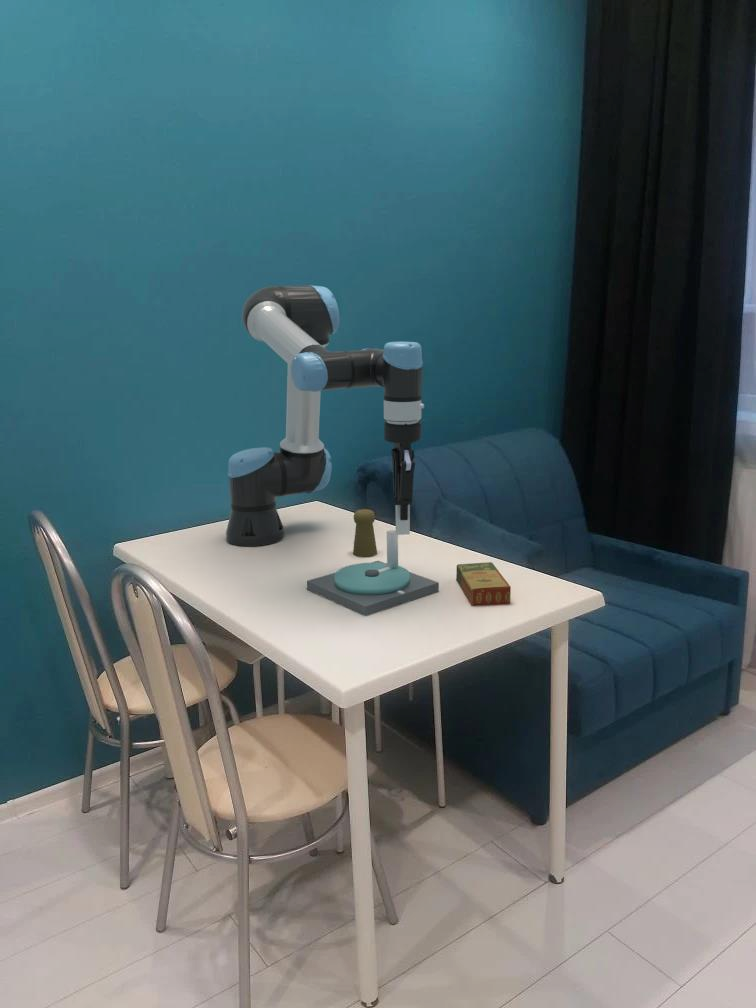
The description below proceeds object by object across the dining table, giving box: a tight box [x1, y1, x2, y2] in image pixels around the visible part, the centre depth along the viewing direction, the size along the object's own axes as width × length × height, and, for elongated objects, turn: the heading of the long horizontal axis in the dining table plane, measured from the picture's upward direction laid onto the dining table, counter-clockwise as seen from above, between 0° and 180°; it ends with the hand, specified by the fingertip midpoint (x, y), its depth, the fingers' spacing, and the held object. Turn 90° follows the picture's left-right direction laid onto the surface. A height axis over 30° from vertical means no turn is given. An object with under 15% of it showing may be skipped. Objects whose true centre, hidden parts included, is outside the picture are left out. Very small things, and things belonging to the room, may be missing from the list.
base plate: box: [306, 560, 440, 617], centre depth 166 cm, size 20×20×2 cm
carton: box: [455, 561, 512, 607], centre depth 165 cm, size 8×16×4 cm, turn 6°
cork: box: [352, 508, 378, 558], centre depth 190 cm, size 6×6×11 cm
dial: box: [334, 529, 410, 595], centre depth 165 cm, size 16×16×10 cm
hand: (402, 533), depth 162 cm, fingers closed
